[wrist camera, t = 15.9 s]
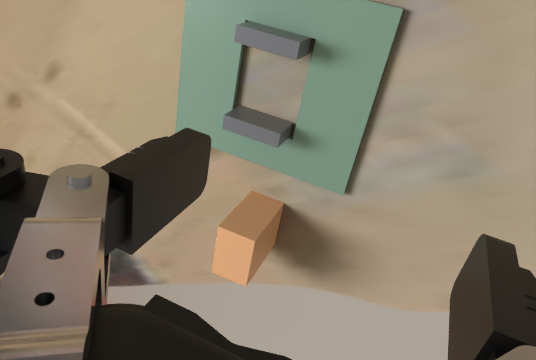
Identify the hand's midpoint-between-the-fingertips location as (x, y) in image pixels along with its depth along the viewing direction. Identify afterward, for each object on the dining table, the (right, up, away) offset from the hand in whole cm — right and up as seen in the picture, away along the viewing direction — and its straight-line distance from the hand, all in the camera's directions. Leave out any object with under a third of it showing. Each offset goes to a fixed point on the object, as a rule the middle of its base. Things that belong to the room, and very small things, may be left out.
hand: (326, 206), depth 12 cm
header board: (-1, +11, +29) cm, 31 cm away
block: (-2, -4, +37) cm, 37 cm away
